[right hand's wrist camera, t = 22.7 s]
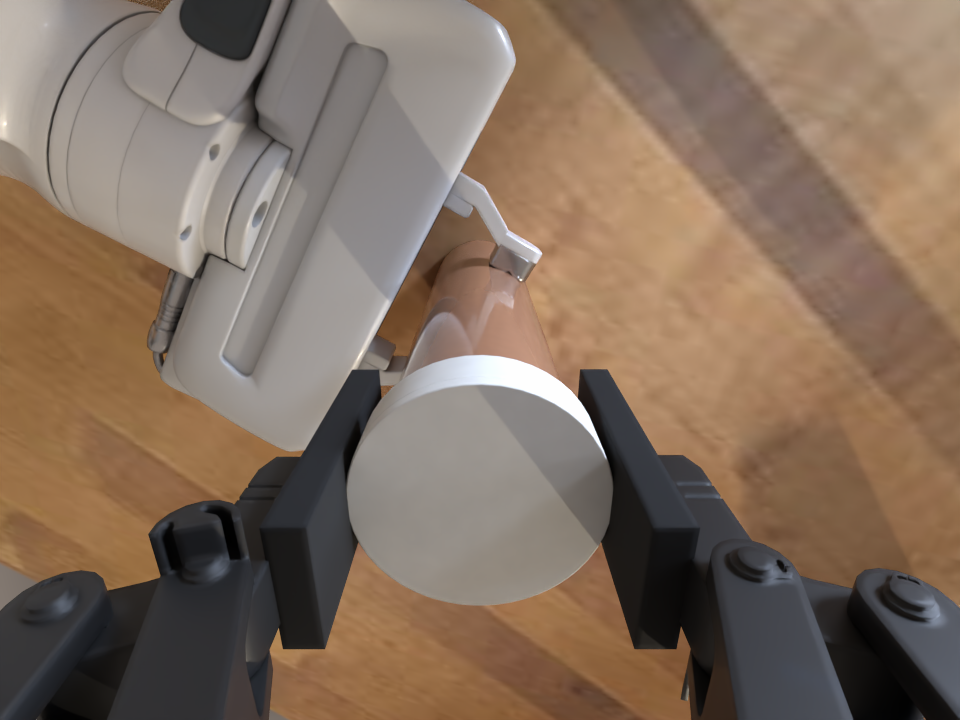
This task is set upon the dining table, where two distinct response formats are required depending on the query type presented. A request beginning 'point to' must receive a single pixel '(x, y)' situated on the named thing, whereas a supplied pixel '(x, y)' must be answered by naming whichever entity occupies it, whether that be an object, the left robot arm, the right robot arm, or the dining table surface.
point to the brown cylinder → (478, 314)
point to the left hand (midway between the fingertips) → (497, 324)
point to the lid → (479, 482)
